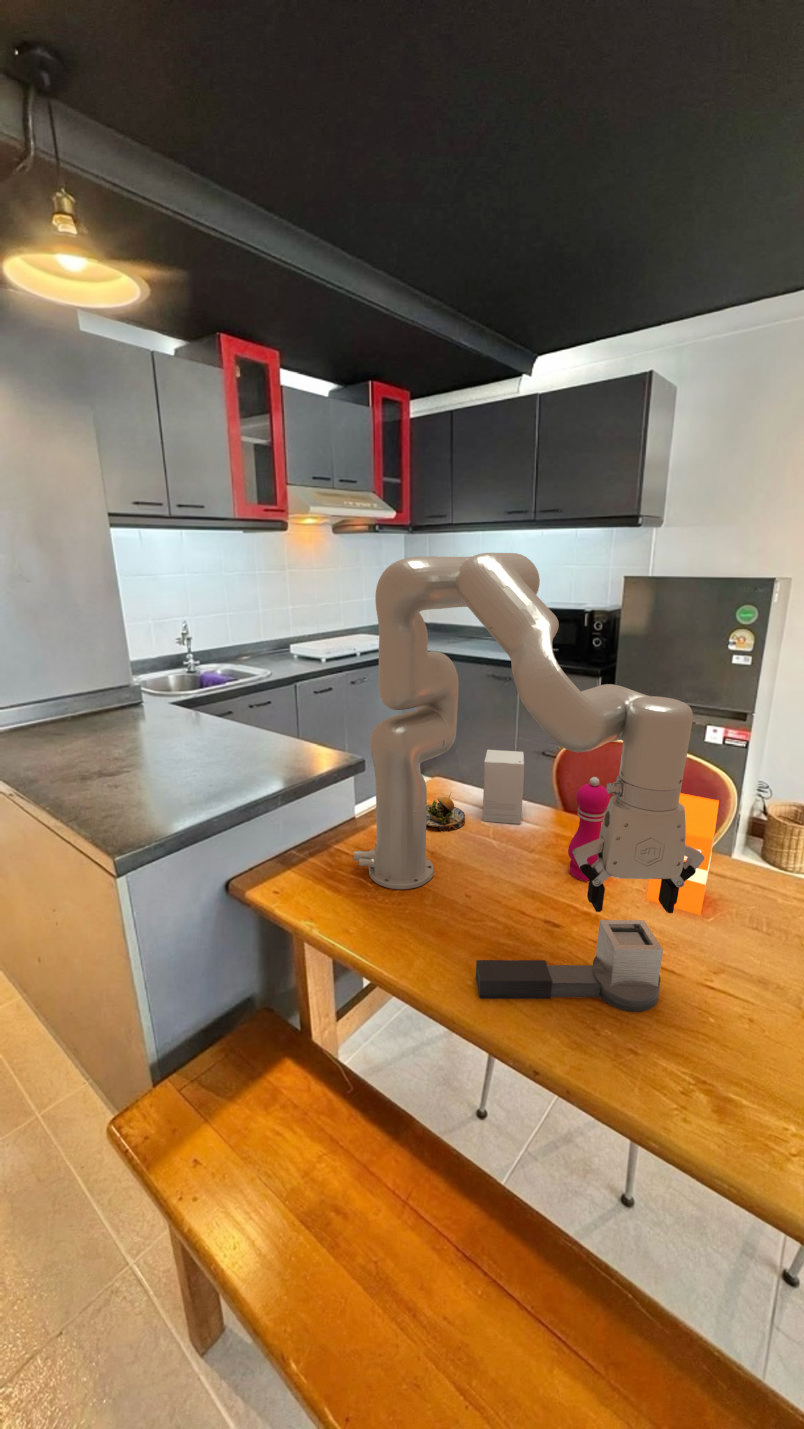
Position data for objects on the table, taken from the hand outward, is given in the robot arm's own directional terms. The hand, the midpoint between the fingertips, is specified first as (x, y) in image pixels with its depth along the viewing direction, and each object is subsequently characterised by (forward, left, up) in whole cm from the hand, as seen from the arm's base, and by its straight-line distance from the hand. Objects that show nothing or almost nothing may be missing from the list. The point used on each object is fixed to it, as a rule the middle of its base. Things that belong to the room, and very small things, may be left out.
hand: (630, 906), depth 80 cm
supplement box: (-8, +57, -13) cm, 59 cm away
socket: (0, 0, -10) cm, 10 cm away
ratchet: (-8, 0, -13) cm, 15 cm away
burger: (-23, +54, -14) cm, 60 cm away
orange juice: (+18, +23, -13) cm, 32 cm away
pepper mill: (+4, +31, -13) cm, 34 cm away
